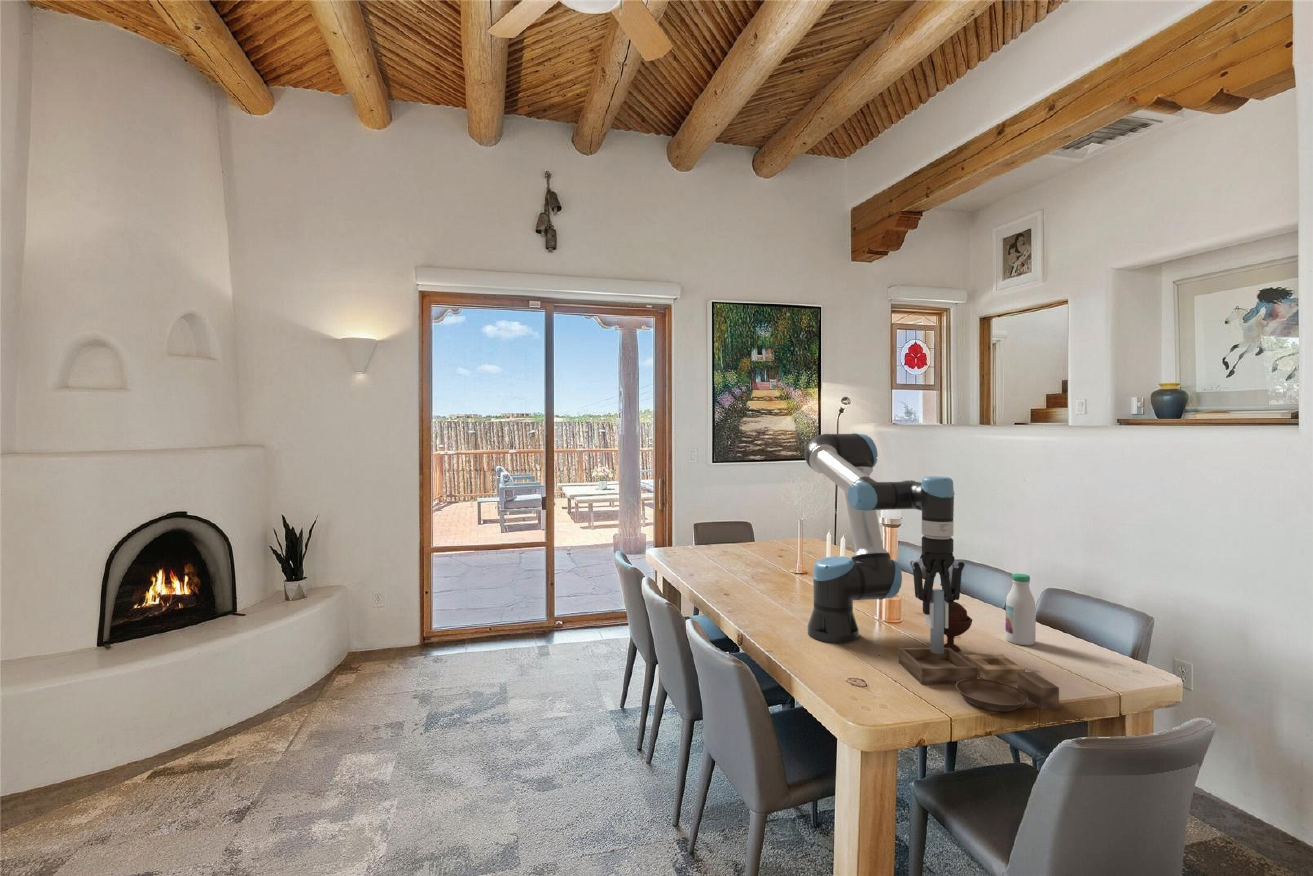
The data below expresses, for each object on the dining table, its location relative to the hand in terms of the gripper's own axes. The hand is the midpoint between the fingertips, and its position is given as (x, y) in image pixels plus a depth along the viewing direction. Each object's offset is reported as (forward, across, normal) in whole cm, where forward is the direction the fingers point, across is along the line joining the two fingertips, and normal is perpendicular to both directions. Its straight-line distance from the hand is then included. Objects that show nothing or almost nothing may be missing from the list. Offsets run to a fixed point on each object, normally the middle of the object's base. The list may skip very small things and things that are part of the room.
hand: (936, 626), depth 160 cm
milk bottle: (+12, +36, +23) cm, 44 cm away
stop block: (+12, +16, -16) cm, 26 cm away
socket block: (+12, +15, 0) cm, 19 cm away
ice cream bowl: (+12, +12, +17) cm, 24 cm away
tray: (+12, 0, 0) cm, 12 cm away
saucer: (+13, +5, -16) cm, 21 cm away
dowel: (+7, 0, 0) cm, 7 cm away
